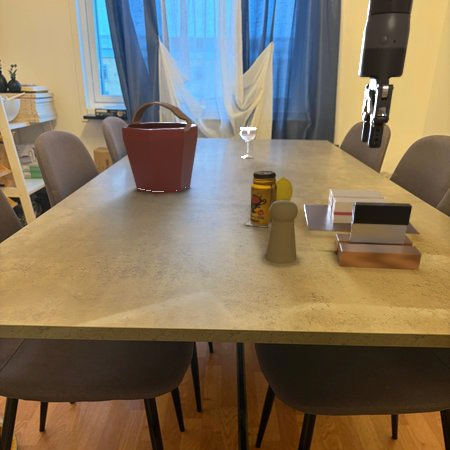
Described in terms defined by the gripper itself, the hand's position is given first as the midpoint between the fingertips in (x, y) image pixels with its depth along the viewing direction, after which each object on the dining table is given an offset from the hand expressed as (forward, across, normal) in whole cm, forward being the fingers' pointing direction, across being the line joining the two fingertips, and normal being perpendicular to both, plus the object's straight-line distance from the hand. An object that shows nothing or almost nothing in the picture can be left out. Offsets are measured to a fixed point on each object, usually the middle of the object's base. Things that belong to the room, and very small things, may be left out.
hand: (370, 144), depth 82 cm
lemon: (+20, +28, +16) cm, 38 cm away
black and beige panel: (+20, -8, -2) cm, 22 cm away
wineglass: (+20, +108, +33) cm, 115 cm away
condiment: (+20, +12, +20) cm, 31 cm away
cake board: (+20, +16, -2) cm, 25 cm away
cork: (+20, -10, +16) cm, 27 cm away
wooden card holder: (+20, -8, -2) cm, 22 cm away
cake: (+19, +20, -2) cm, 27 cm away
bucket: (+20, +45, +55) cm, 73 cm away
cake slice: (+19, +13, -2) cm, 23 cm away
